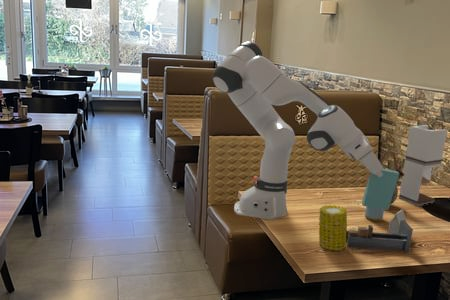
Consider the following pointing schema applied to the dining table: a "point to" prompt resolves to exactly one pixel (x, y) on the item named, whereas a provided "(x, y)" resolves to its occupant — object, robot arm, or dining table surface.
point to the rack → (384, 240)
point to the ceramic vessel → (394, 170)
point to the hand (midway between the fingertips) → (379, 174)
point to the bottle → (374, 214)
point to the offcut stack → (361, 232)
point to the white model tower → (421, 162)
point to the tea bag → (396, 222)
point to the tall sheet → (380, 189)
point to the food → (332, 227)
